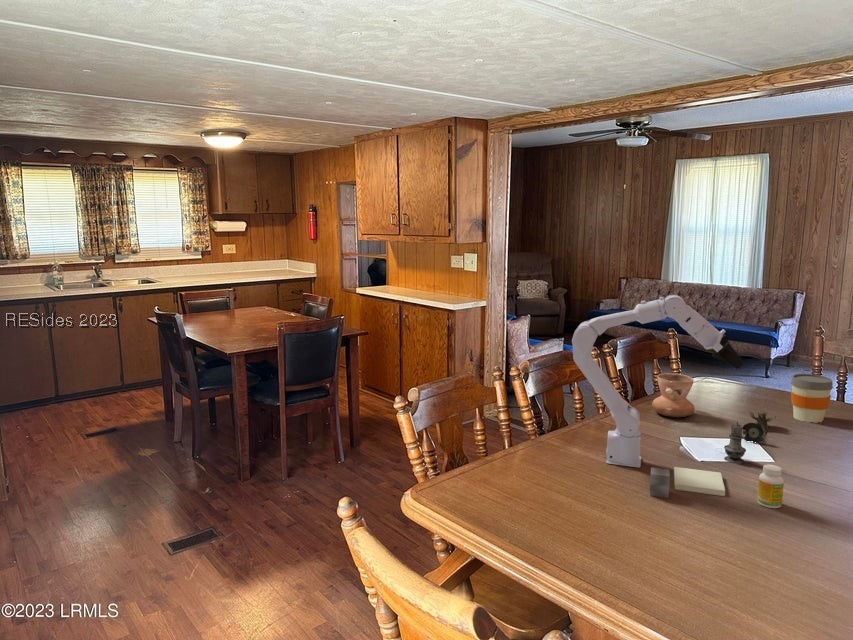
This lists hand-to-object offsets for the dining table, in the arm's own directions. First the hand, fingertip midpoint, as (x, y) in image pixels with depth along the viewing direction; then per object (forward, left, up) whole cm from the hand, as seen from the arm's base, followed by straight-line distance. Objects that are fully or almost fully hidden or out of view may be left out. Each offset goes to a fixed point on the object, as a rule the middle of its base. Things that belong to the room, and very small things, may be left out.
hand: (738, 362), depth 163 cm
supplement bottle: (+7, -16, -32) cm, 37 cm away
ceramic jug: (-14, +52, -33) cm, 63 cm away
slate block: (-19, -19, -32) cm, 42 cm away
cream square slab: (-9, -9, -33) cm, 35 cm away
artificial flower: (+12, +40, -33) cm, 53 cm away
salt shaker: (+2, +12, -32) cm, 35 cm away
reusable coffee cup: (+31, +62, -32) cm, 77 cm away
